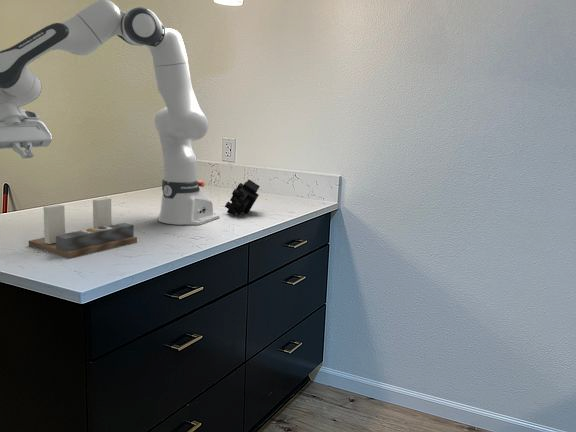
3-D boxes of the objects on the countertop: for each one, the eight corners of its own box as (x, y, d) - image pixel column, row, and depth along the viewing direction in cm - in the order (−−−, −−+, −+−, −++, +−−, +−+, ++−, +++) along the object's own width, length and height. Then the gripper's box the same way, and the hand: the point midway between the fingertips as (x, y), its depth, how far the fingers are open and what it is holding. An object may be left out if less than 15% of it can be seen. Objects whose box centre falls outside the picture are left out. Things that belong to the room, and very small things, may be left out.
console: (97, 232, 178) (96, 214, 177) (137, 242, 168) (137, 224, 167) (28, 245, 159) (27, 226, 158) (69, 258, 150) (68, 237, 148)
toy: (219, 214, 211) (234, 195, 224) (238, 226, 212) (252, 206, 224) (231, 191, 205) (246, 173, 217) (251, 204, 205) (265, 185, 217)
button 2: (106, 230, 174) (105, 197, 172) (111, 231, 173) (111, 198, 171) (92, 232, 170) (91, 199, 168) (97, 234, 168) (97, 200, 166)
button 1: (59, 239, 161) (58, 204, 159) (65, 240, 159) (64, 205, 157) (43, 242, 157) (42, 206, 155) (49, 244, 155) (47, 207, 153)
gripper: (-25, 113, 158) (-3, 151, 155) (42, 113, 175) (63, 148, 172) (-33, 128, 161) (-11, 166, 158) (34, 127, 178) (54, 161, 175)
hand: (28, 157), depth 165 cm, fingers closed
